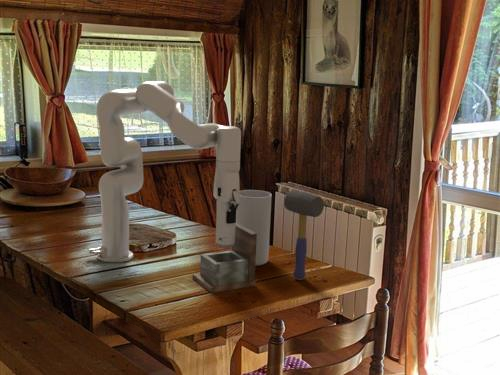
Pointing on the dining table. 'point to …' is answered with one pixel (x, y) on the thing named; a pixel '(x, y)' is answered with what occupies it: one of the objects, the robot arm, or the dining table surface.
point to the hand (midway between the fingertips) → (226, 220)
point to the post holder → (230, 264)
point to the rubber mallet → (302, 223)
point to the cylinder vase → (256, 219)
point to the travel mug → (224, 225)
